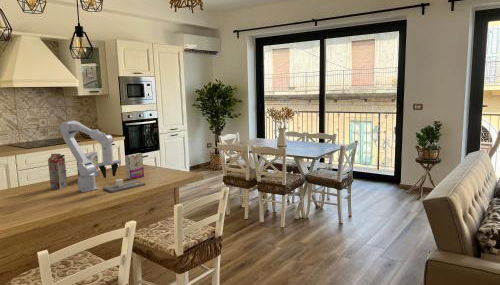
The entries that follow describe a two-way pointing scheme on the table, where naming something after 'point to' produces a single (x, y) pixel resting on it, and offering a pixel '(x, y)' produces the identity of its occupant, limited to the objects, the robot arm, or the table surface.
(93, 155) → the cake pan box
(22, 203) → the table surface
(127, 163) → the candy bar box
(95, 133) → the robot arm
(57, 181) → the juice carton
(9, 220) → the table surface
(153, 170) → the table surface
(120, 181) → the fader knob
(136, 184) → the fader panel
